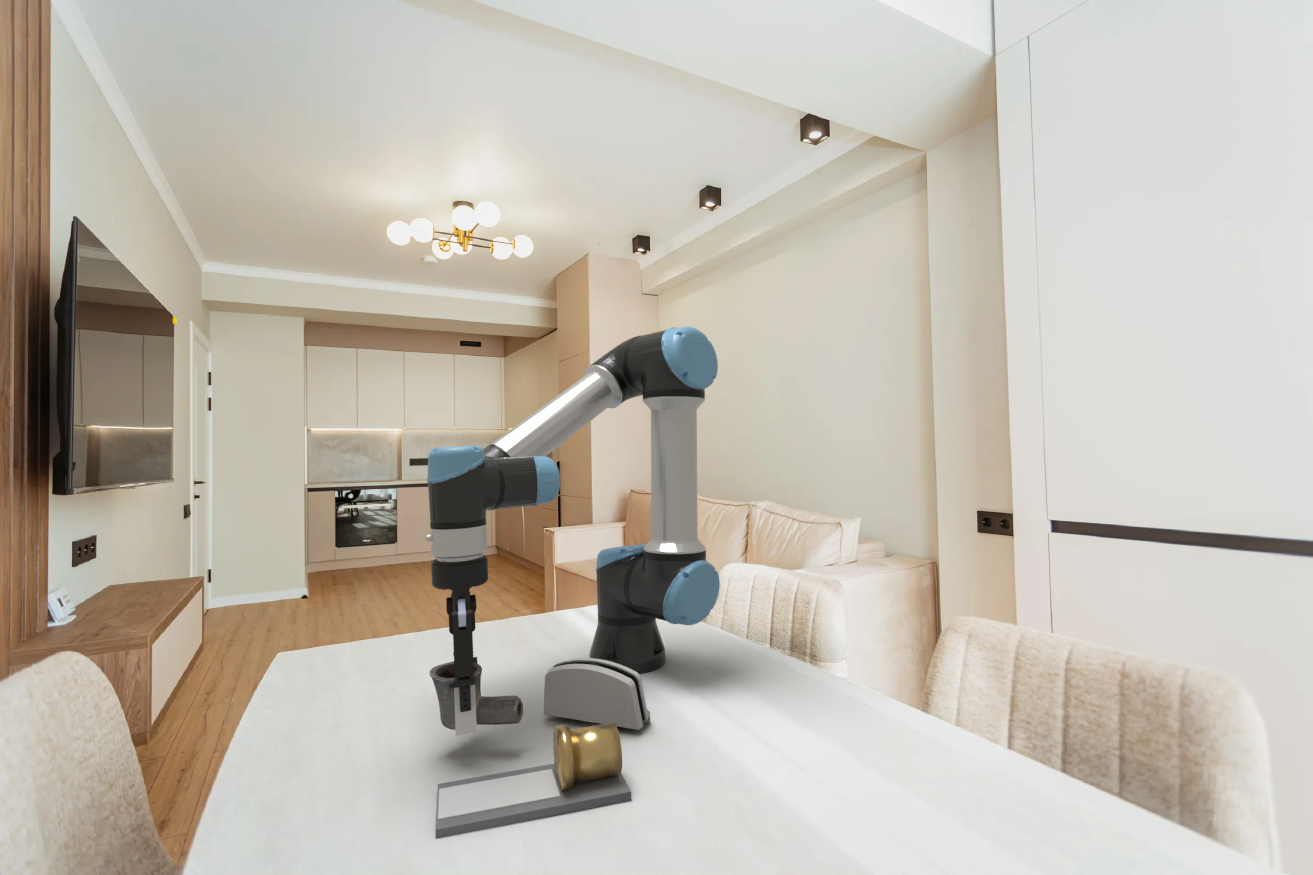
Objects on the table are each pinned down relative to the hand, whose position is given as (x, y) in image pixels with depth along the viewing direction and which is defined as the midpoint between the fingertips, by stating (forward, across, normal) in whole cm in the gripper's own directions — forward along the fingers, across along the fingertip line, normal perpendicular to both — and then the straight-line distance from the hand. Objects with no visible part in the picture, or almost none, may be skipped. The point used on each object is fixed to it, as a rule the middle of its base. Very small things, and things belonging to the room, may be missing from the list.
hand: (465, 721), depth 87 cm
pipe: (+1, 0, +2) cm, 2 cm away
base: (+4, +14, +7) cm, 17 cm away
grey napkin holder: (+5, -4, +19) cm, 20 cm away
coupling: (+4, +14, +15) cm, 21 cm away
